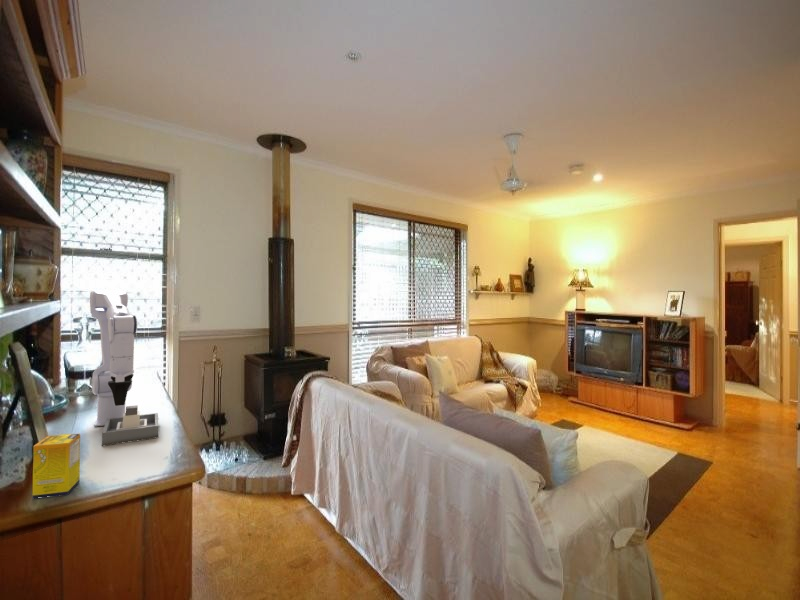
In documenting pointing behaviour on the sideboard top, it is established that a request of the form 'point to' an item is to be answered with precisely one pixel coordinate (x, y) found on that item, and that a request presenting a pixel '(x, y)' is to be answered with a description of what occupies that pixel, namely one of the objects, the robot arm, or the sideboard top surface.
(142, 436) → the walled box
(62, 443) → the supplement box
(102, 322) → the robot arm
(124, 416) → the connector
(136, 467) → the sideboard top surface
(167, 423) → the sideboard top surface
